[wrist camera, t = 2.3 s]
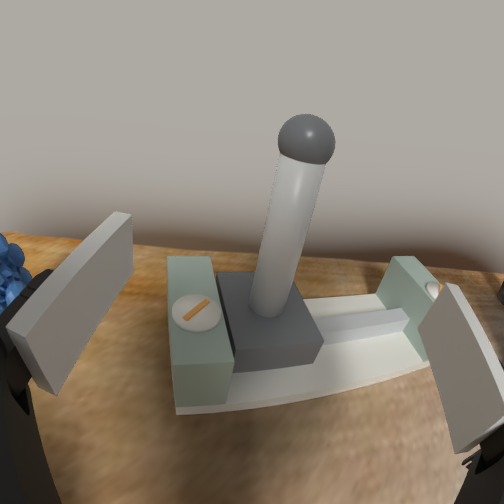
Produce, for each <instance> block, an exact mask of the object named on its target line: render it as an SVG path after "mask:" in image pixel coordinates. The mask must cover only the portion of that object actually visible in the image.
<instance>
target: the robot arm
mask: <svg viewBox="0 0 504 504" xmlns="http://www.w3.org/2000/svg"><path fill="white" fill-rule="evenodd" d="M133 272H134V266H133V243H132V215H131V214H126V213H121V212H116V211H115V212H114V213H113V214H112V215H111V216H109V217H108V218H107V219H106V220H105V221H104V222H103V223H102V224H101V225H100V226H99V227H97V228H96V229H95V230H94V231H93V232H92V233H91V234H90V235H89V236H88V237H87V238H86V239H85V240H84V241H83V242H82V243H81V244H80V245H79V246H78V247H77V248H76V249H75V250H74V251H73V252H72V253H71V254H70V255H69V256H68V257H67V258H66V259H65V260H64V261H63V262H62V263H61V264H60V265H59V266H58V267H57V268H56V269H55V270H54V271H53V270H50V269H47V270H45V271H43V272H41V273H40V274H38V275H36V276H35V277H34V278H33V279H32V280H31V281H30V282H29V283H28V284H27V286H26V288H24V289H23V290H22V291H21V292H20V293H19V296H17V297H16V298H15V299H14V300H13V301H12V302H11V303H10V304H9V306H8V307H7V308H6V309H5V310H4V311H3V313H2V314H1V315H0V504H62V503H61V501H60V498H59V496H58V493H57V490H56V488H55V485H54V482H53V479H52V476H51V473H50V470H49V467H48V464H47V461H46V457H45V454H44V450H43V447H42V443H41V439H40V435H39V431H38V427H37V423H36V418H35V413H34V408H33V403H32V398H31V392H30V388H29V386H28V382H29V380H30V379H31V377H32V378H33V379H34V381H35V383H36V384H37V386H38V387H39V388H41V389H43V390H45V391H47V392H49V393H51V394H53V395H55V396H57V395H58V393H59V391H60V389H61V388H62V386H63V384H64V382H65V380H66V379H67V377H68V375H69V373H70V372H71V370H72V368H73V366H74V365H75V363H76V361H77V360H78V358H79V356H80V355H81V353H82V351H83V350H84V348H85V346H86V345H87V343H88V341H89V340H90V338H91V336H92V335H93V333H94V332H95V330H96V328H97V327H98V325H99V324H100V322H101V320H102V319H103V317H104V316H105V314H106V313H107V311H108V310H109V308H110V307H111V305H112V304H113V302H114V300H115V299H116V297H117V296H118V294H119V293H120V291H121V290H122V289H123V287H124V286H125V284H126V283H127V281H128V280H129V278H130V277H131V275H132V274H133ZM417 329H418V332H419V334H420V337H421V340H422V342H423V345H424V348H425V351H426V354H427V357H428V360H429V363H430V366H431V369H432V372H433V375H434V378H435V381H436V384H437V388H438V391H439V394H440V398H441V401H442V405H443V408H444V412H445V416H446V420H447V424H448V428H449V432H450V436H451V440H452V444H453V449H454V454H458V453H463V452H468V451H470V450H471V449H473V448H474V447H475V446H477V445H478V444H479V443H480V447H481V449H480V450H478V451H477V452H475V453H474V454H473V455H471V456H470V457H468V458H467V459H465V460H464V461H463V462H462V465H465V464H466V463H468V462H469V461H472V462H471V463H470V464H468V465H467V466H466V468H467V469H469V471H468V473H467V476H466V478H465V480H464V483H463V485H462V487H461V489H460V492H459V494H458V496H457V498H456V500H455V502H454V504H504V367H503V365H502V363H501V362H500V360H499V359H498V358H497V356H496V354H495V352H494V350H493V347H492V345H491V343H490V342H489V340H488V338H487V336H486V334H485V332H484V330H483V328H482V326H481V324H480V323H479V321H478V319H477V317H476V315H475V314H474V312H473V310H472V308H471V307H470V305H469V303H468V301H467V300H466V298H465V296H464V295H463V293H462V291H461V290H460V288H459V286H458V285H455V284H450V283H446V282H445V284H444V286H443V288H442V289H441V291H440V293H439V295H438V296H437V298H436V300H435V301H434V303H433V305H432V306H431V308H430V309H429V311H428V313H427V314H426V316H425V317H424V319H423V320H422V322H421V323H420V325H419V326H418V328H417Z"/></svg>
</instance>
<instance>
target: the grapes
mask: <svg viewBox="0 0 504 504" xmlns="http://www.w3.org/2000/svg"><path fill="white" fill-rule="evenodd" d="M24 261H25V256H24V253H23V251H22V249H21V248H20V247H19V246H18V245H17V244H14V243H10V244H8V242H7V240H6V238H5V237H4V236H3V235H2V234H1V233H0V315H1V314H2V313H3V311H4V310H5V309H6V308H7V307H8V306H9V304H10V303H11V302H12V301H13V300H14V299H15V298H16V297H17V296H19V293H20V292H21V291H22V290H23V289H24V288H26V286H27V284H28V283H29V282H30V281H31V280H32V276H31V274H30V272H29V271H28V270H27V269H26V268H24V267H22V266H23V264H24Z"/></svg>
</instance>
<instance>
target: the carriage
mask: <svg viewBox="0 0 504 504" xmlns="http://www.w3.org/2000/svg"><path fill="white" fill-rule="evenodd" d="M278 147H279V151H280V155H279V159H278V164H277V170H276V174H275V179H274V184H273V189H272V193H271V198H270V203H269V208H268V213H267V217H266V222H265V227H264V232H263V237H262V241H261V246H260V251H259V256H258V260H257V265H256V270H255V272H217V275H216V286H217V290H218V295H219V299H220V303H221V308H222V312H223V316H224V320H225V325H226V329H227V333H228V337H229V341H230V345H231V349H232V353H233V357H234V361H235V362H234V367H233V372H232V373H242V372H252V371H262V370H270V369H279V368H286V367H293V366H300V365H307V364H313V363H314V361H315V359H316V357H317V355H318V353H319V351H320V349H321V347H322V345H323V343H324V339H323V337H322V335H321V333H320V331H319V329H318V327H317V325H316V323H315V321H314V320H313V318H312V316H311V314H310V312H309V310H308V308H307V306H306V304H305V302H304V300H303V298H302V296H301V294H300V293H299V291H298V289H297V287H296V285H295V283H294V281H293V279H294V276H295V273H296V269H297V266H298V263H299V259H300V256H301V252H302V249H303V246H304V242H305V239H306V235H307V232H308V228H309V224H310V221H311V217H312V214H313V210H314V207H315V202H316V199H317V195H318V192H319V188H320V184H321V181H322V176H323V173H324V169H325V165H326V163H327V162H328V161H329V160H330V158H331V156H332V155H333V153H334V149H335V137H334V133H333V131H332V129H331V127H330V126H329V125H328V124H327V123H326V122H325V121H324V120H323V119H321V118H319V117H317V116H314V115H311V114H301V115H297V116H294V117H292V118H290V119H289V120H288V121H287V122H285V124H284V125H283V126H282V128H281V130H280V132H279V135H278Z"/></svg>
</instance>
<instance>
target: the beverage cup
mask: <svg viewBox="0 0 504 504" xmlns="http://www.w3.org/2000/svg"><path fill="white" fill-rule="evenodd" d="M497 297H498V299H499V300H500V302H501V303H502V304H504V281H503V283H502V285H501V288H500V290H499V292H498V294H497Z"/></svg>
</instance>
